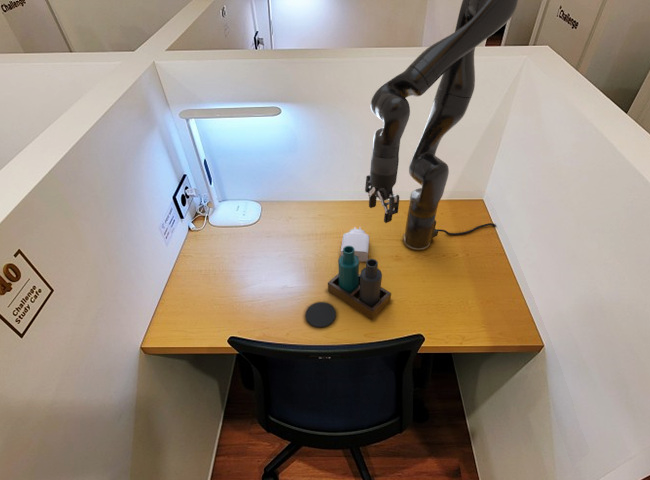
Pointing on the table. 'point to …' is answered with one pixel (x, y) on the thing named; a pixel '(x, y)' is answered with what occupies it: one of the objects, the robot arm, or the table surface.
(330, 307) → the coaster
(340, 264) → the teal bottle
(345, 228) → the table surface
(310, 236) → the table surface
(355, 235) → the charger
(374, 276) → the charcoal bottle
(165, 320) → the table surface
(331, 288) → the caddy
